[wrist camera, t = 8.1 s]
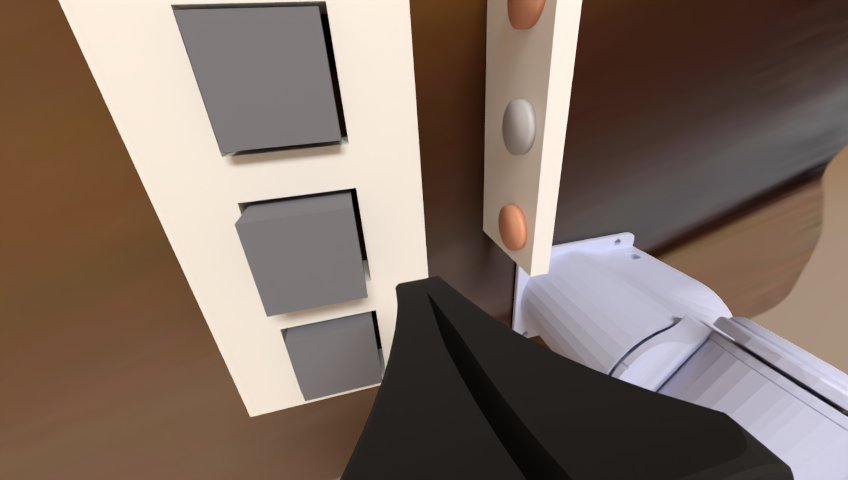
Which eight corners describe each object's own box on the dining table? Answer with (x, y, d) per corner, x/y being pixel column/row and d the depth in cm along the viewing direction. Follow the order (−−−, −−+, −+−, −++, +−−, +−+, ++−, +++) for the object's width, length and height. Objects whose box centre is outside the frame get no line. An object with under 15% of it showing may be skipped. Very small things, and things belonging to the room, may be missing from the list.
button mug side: (321, 20, 14) (318, 6, 12) (340, 132, 17) (341, 140, 14) (204, 24, 14) (173, 10, 11) (240, 142, 16) (221, 152, 13)
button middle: (350, 189, 17) (352, 208, 14) (363, 269, 19) (368, 297, 16) (251, 202, 16) (234, 224, 13) (277, 284, 18) (267, 316, 15)
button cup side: (368, 295, 21) (372, 323, 19) (377, 349, 23) (382, 382, 21) (291, 309, 20) (285, 342, 18) (308, 365, 22) (305, 401, 20)
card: (507, -37, 16) (594, -101, 10) (497, 228, 22) (548, 273, 16) (479, -37, 15) (555, -103, 10) (477, 231, 21) (523, 278, 16)
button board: (396, -9, 15) (407, -26, 13) (426, 346, 25) (434, 371, 22) (97, -4, 13) (48, -23, 11) (258, 384, 22) (250, 417, 20)
